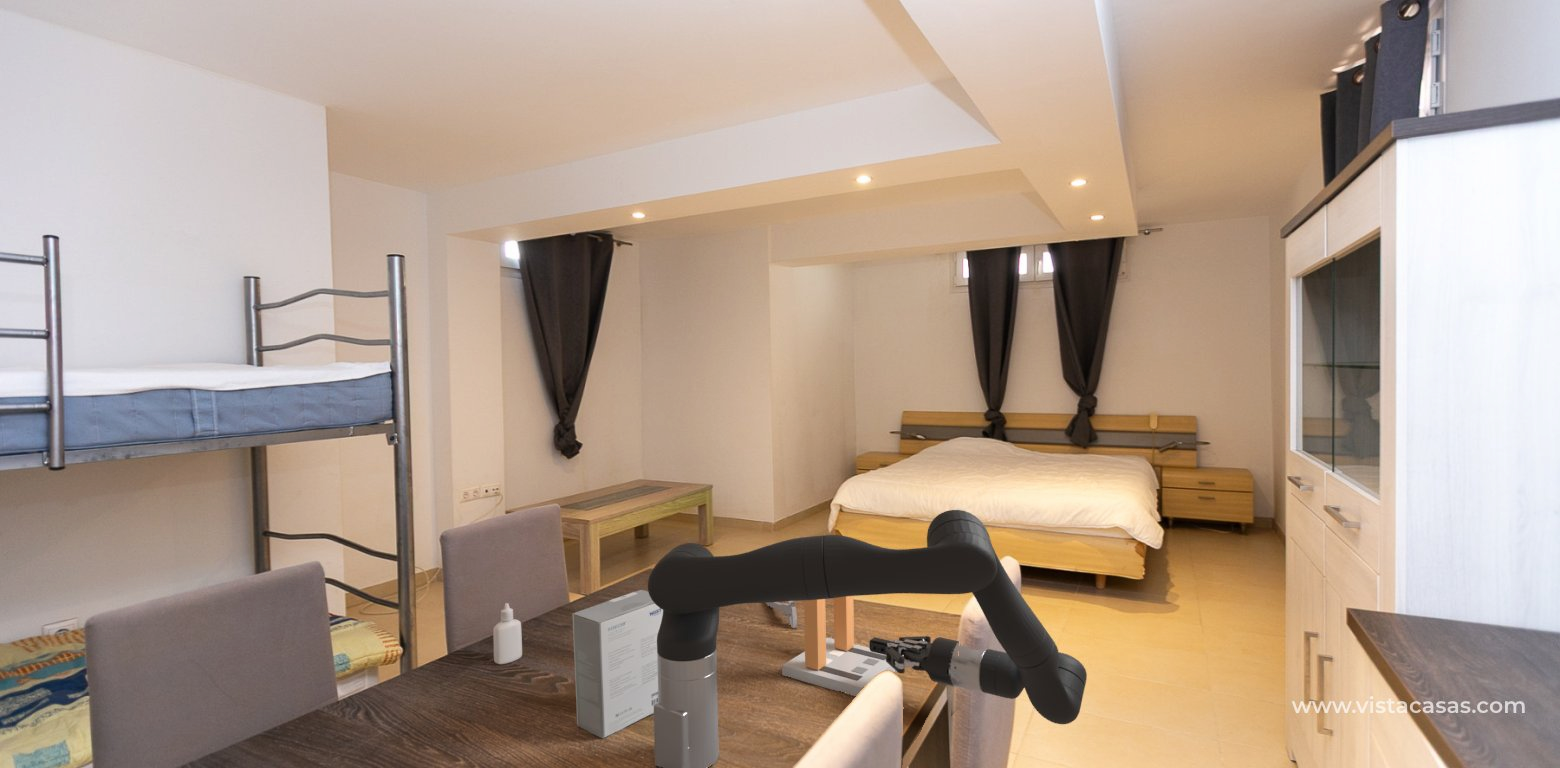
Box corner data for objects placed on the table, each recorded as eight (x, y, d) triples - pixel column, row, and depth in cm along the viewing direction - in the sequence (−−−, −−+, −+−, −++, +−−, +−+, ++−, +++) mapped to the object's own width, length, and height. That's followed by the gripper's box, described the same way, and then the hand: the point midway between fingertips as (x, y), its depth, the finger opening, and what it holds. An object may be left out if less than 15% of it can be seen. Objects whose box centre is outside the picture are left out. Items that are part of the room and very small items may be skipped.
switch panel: (862, 698, 132) (862, 687, 132) (782, 675, 143) (782, 664, 142) (903, 665, 146) (903, 655, 146) (827, 646, 156) (827, 637, 156)
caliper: (797, 629, 167) (796, 603, 167) (792, 630, 167) (792, 603, 167) (767, 602, 186) (767, 578, 186) (763, 603, 186) (763, 579, 186)
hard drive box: (645, 693, 136) (642, 588, 135) (672, 705, 131) (670, 596, 130) (574, 726, 124) (571, 611, 123) (602, 740, 119) (599, 621, 118)
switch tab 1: (818, 670, 139) (817, 598, 139) (805, 666, 141) (804, 595, 141) (826, 664, 142) (825, 594, 141) (813, 661, 144) (812, 591, 143)
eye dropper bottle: (493, 658, 153) (492, 602, 153) (521, 653, 156) (520, 598, 155) (494, 666, 149) (492, 608, 149) (523, 661, 151) (521, 604, 151)
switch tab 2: (846, 651, 148) (845, 583, 148) (834, 648, 150) (833, 581, 150) (854, 646, 151) (853, 580, 150) (841, 643, 152) (840, 577, 152)
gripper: (973, 630, 130) (886, 613, 140) (945, 656, 119) (853, 635, 129) (974, 672, 130) (887, 651, 140) (945, 701, 119) (854, 676, 129)
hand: (871, 644), depth 134 cm, fingers closed
